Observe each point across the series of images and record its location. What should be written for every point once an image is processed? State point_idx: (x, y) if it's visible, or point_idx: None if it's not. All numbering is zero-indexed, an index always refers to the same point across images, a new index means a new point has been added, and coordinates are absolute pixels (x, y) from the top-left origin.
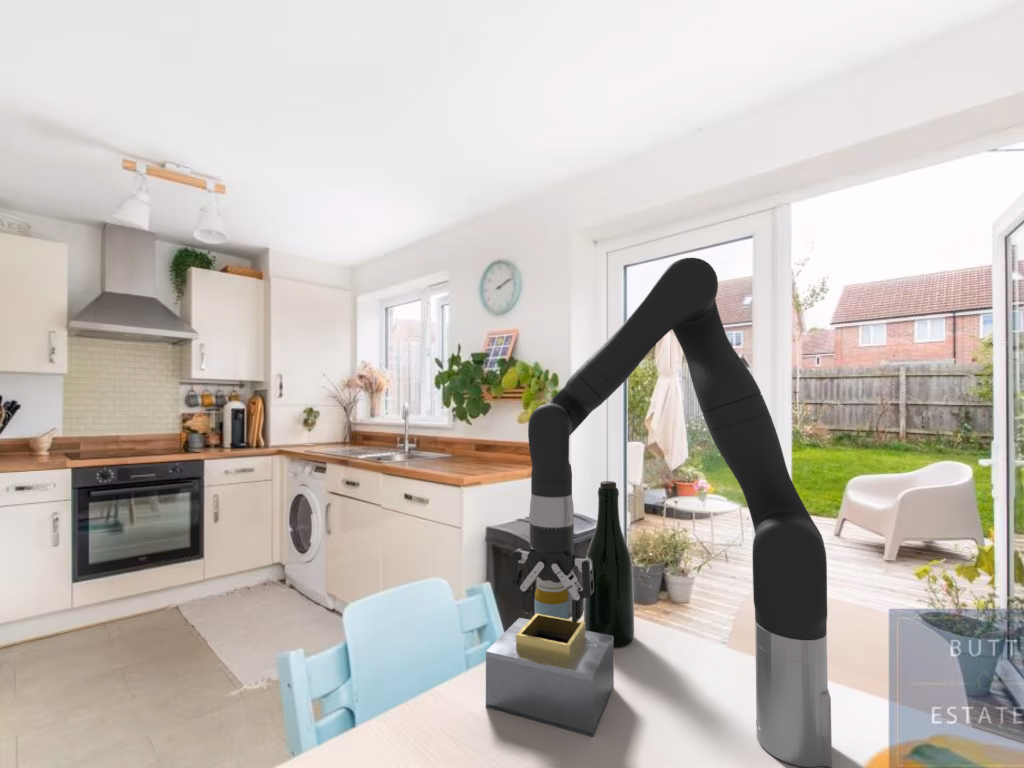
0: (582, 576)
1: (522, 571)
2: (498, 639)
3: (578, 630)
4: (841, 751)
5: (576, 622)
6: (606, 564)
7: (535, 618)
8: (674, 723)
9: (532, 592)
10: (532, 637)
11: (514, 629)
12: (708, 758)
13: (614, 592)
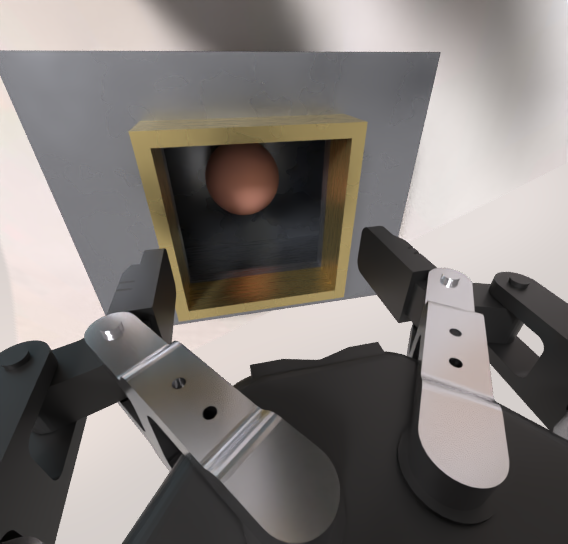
0: (543, 422)
1: (27, 414)
2: (89, 271)
3: (352, 204)
4: None
5: (333, 138)
6: None
7: (158, 182)
8: (466, 136)
9: (156, 297)
10: (232, 311)
11: (76, 183)
12: (491, 199)
13: None
